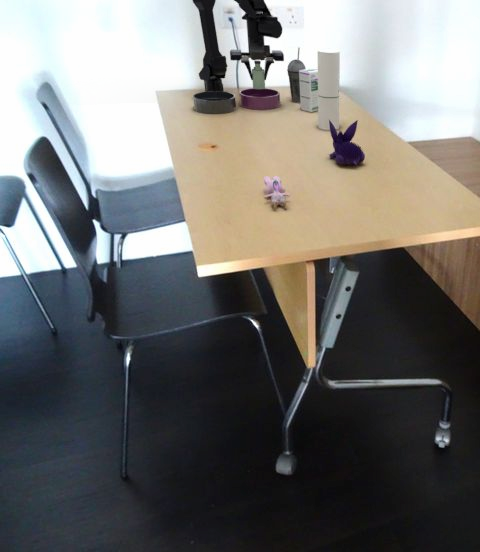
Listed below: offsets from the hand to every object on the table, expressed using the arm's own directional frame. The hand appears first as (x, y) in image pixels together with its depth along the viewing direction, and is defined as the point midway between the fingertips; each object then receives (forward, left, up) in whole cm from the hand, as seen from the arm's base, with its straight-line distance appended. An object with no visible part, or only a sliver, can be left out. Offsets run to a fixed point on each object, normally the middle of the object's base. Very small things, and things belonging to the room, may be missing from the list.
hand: (258, 80), depth 209 cm
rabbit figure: (+55, -69, -10) cm, 89 cm away
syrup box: (+18, +8, -10) cm, 22 cm away
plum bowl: (0, 0, -10) cm, 10 cm away
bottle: (0, 0, -3) cm, 3 cm away
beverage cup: (+7, +15, -10) cm, 20 cm away
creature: (+56, -35, -10) cm, 67 cm away
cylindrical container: (+35, -8, -10) cm, 37 cm away
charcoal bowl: (-9, -14, -10) cm, 19 cm away
